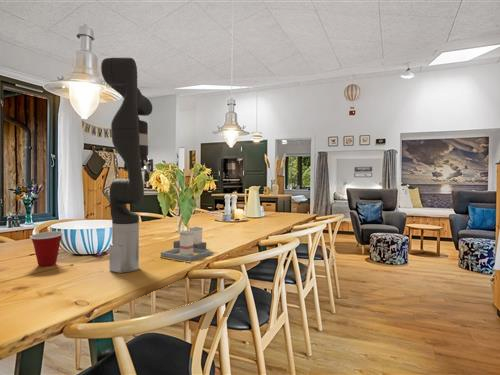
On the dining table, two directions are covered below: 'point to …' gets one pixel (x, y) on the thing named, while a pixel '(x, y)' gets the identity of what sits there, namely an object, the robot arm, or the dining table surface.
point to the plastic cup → (46, 247)
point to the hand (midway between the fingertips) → (139, 181)
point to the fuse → (197, 234)
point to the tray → (187, 258)
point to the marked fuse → (186, 243)
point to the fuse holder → (196, 246)
